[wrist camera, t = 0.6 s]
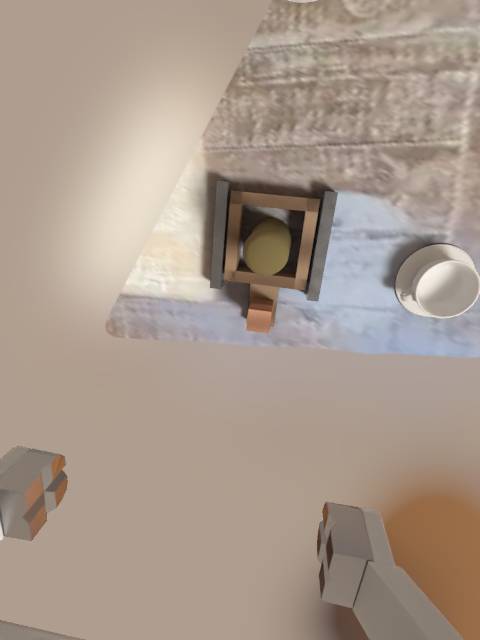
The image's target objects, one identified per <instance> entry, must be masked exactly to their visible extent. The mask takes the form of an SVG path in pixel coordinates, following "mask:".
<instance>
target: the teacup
mask: <svg viewBox="0 0 480 640" xmlns="http://www.w3.org/2000/svg"><path fill="white" fill-rule="evenodd" d="M395 290H396V294H397V297H398V299H399V301H400V303H401V304H402V305H403V306H404V307H405V308H406V309H407V310H408V311H410V312H412V313H414V314H416V315H420V316H426V317H436V318H450V317H454V316H457V315H460V314H462V313H463V312H465V311H466V310H468V309H469V308H470V307H471V306H472V305H473V304H474V303H475V301H476V300H477V298H478V296H479V293H480V277H479V274H478V272H477V271H476V270H475V266H474V263H473V261H472V259H471V258H470V256H469V255H468V254H467V253H466V252H465V251H463V250H462V249H460V248H458V247H456V246H453V245H448V244H435V245H430V246H427V247H424V248H422V249H420V250H418V251H416V252H415V253H413V254H412V255H411V256H409V257H408V258H407V259H406V260H405V262H404V263H403V264H402V266H401V267H400V269H399V271H398V274H397V277H396V282H395Z"/></svg>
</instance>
